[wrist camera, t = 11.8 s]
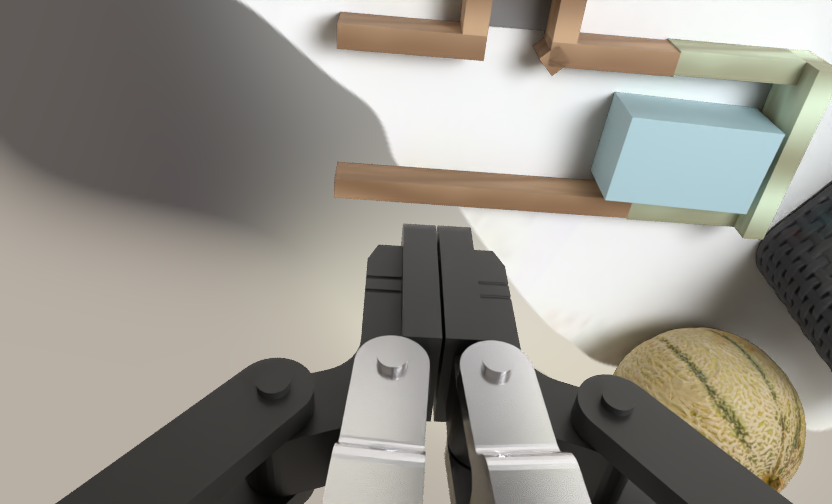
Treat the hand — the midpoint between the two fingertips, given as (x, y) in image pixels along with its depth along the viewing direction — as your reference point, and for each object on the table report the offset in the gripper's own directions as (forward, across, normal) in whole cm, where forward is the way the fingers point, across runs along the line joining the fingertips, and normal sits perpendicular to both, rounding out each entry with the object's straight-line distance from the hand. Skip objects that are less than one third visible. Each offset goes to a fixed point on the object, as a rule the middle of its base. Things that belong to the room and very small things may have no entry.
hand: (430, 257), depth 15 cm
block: (+30, -19, +11) cm, 37 cm away
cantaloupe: (+29, -25, +32) cm, 50 cm away
